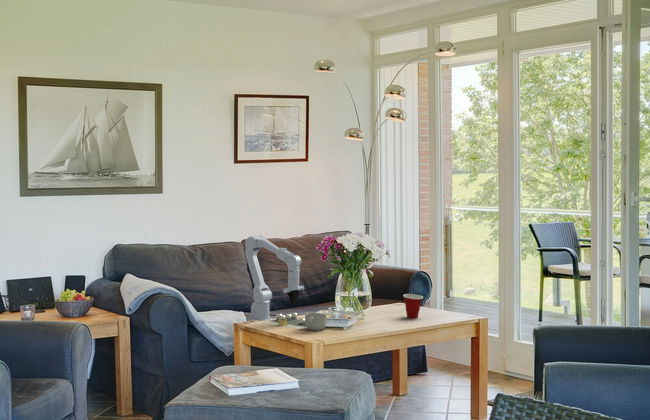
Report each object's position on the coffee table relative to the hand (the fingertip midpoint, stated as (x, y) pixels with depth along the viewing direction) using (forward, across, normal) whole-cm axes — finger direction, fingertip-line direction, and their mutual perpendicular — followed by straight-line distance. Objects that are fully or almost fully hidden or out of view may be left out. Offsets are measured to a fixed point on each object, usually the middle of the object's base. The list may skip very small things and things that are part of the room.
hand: (293, 305), depth 439 cm
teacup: (+10, -7, -19) cm, 23 cm away
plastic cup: (+10, +56, -38) cm, 68 cm away
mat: (+9, -2, 0) cm, 10 cm away
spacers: (+9, +4, 0) cm, 10 cm away
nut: (+9, -9, 0) cm, 13 cm away
